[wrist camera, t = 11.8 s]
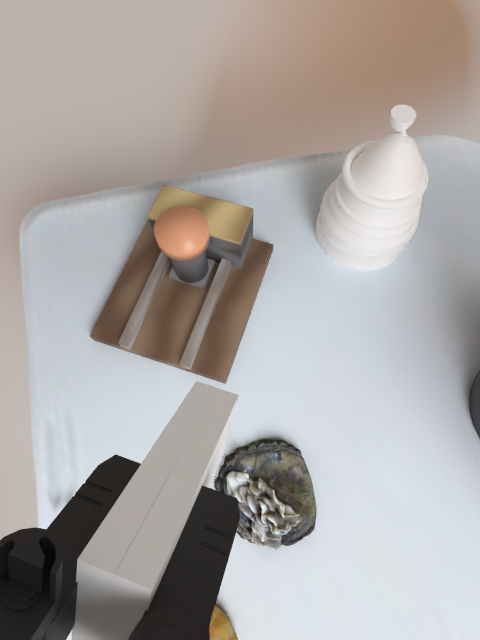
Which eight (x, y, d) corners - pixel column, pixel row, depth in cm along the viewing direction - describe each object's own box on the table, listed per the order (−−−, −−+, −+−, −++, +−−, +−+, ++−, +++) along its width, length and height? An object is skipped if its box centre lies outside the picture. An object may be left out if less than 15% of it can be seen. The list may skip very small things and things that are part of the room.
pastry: (133, 615, 40) (122, 628, 36) (181, 559, 42) (176, 566, 38) (198, 697, 37) (193, 719, 34) (246, 634, 39) (246, 649, 36)
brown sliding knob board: (272, 250, 55) (276, 214, 48) (225, 383, 48) (221, 366, 41) (155, 217, 58) (141, 178, 50) (94, 340, 51) (67, 316, 43)
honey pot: (309, 198, 59) (334, 87, 42) (394, 192, 59) (453, 79, 42) (322, 273, 54) (356, 182, 37) (415, 267, 54) (490, 173, 37)
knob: (221, 258, 53) (216, 213, 44) (205, 296, 51) (196, 257, 42) (179, 246, 54) (166, 199, 45) (162, 283, 52) (145, 242, 43)
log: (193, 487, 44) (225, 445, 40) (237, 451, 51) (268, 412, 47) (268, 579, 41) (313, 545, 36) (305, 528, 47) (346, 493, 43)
